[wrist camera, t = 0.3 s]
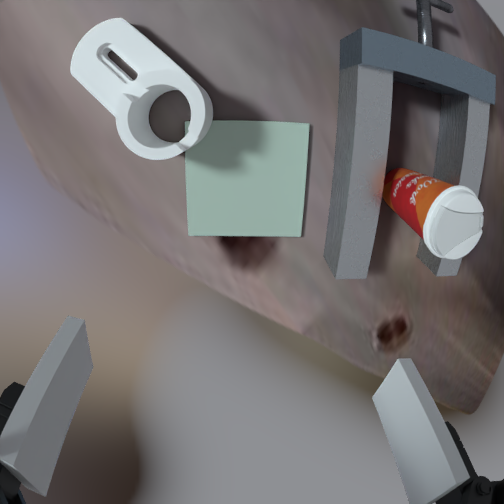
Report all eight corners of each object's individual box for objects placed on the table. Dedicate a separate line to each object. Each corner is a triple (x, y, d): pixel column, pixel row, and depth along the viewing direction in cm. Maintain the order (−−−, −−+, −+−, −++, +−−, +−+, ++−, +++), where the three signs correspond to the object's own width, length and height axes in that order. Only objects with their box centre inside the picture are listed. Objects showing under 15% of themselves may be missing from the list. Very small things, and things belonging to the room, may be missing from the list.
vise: (339, -19, 24) (358, -39, 18) (461, 22, 25) (491, 16, 19) (323, 255, 41) (337, 283, 34) (436, 256, 42) (460, 279, 35)
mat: (185, 121, 32) (184, 121, 32) (308, 123, 33) (309, 123, 32) (189, 233, 38) (188, 235, 38) (299, 234, 39) (300, 236, 39)
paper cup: (420, 155, 35) (489, 184, 22) (423, 209, 38) (484, 253, 26) (369, 164, 35) (429, 197, 23) (375, 220, 39) (428, 273, 26)
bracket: (229, 113, 32) (225, 112, 26) (174, 166, 34) (159, 178, 28) (117, 13, 25) (93, -3, 19) (70, 66, 28) (40, 60, 22)
